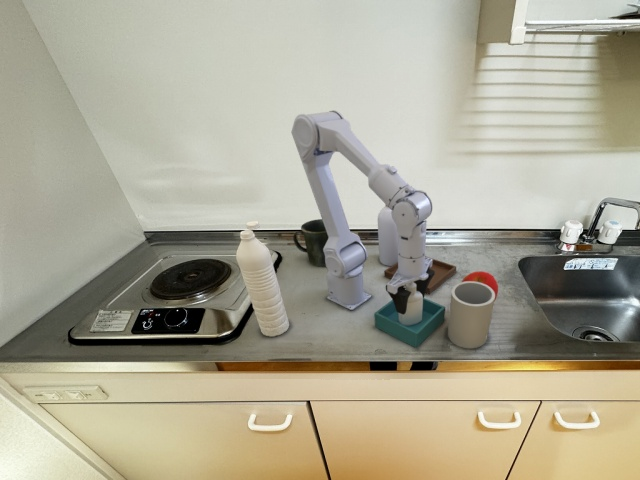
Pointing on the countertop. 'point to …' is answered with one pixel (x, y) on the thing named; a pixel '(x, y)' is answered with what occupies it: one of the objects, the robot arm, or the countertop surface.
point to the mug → (313, 241)
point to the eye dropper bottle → (412, 307)
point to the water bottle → (261, 283)
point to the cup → (470, 314)
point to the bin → (414, 333)
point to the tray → (441, 275)
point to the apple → (483, 280)
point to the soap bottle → (387, 237)
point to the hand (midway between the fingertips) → (410, 304)
